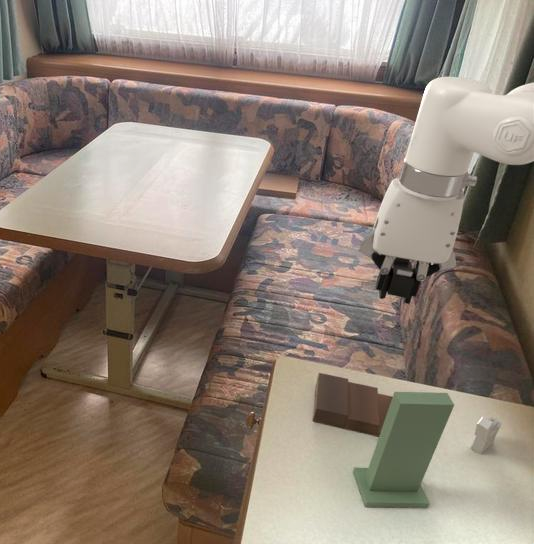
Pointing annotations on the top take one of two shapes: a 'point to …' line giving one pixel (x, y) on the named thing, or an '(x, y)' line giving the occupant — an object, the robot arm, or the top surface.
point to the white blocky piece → (485, 434)
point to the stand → (404, 450)
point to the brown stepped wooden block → (349, 405)
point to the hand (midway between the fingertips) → (393, 295)
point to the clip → (401, 278)
